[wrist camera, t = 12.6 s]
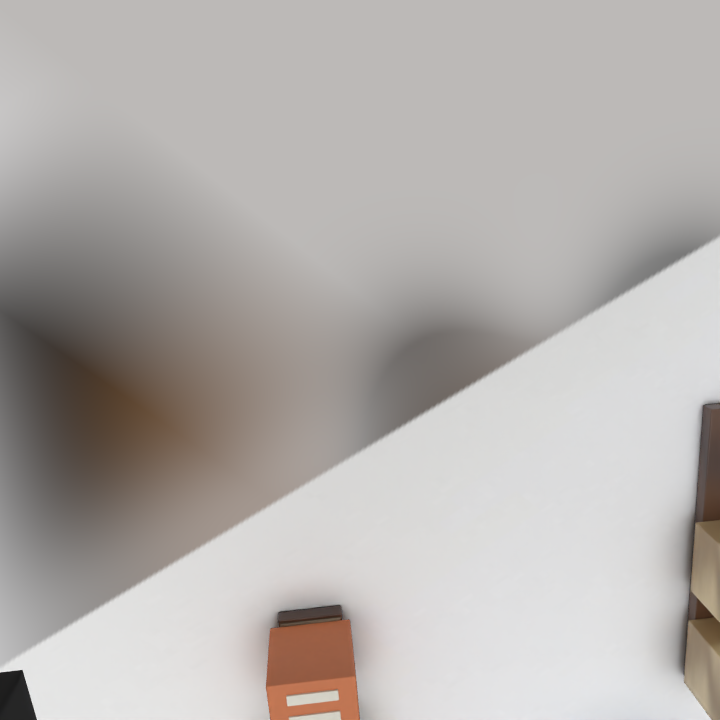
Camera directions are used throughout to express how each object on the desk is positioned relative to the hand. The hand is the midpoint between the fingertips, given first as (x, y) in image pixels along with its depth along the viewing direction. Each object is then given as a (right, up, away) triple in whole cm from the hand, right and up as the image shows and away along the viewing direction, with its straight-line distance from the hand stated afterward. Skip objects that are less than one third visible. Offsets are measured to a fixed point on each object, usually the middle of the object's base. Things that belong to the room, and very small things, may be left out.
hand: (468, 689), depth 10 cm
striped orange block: (-4, -12, +29) cm, 31 cm away
